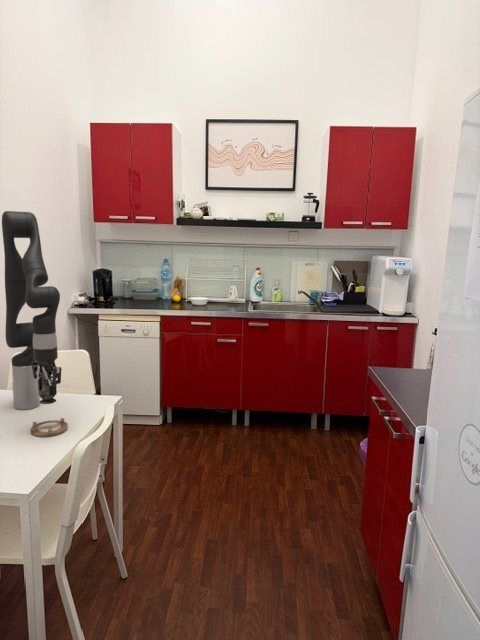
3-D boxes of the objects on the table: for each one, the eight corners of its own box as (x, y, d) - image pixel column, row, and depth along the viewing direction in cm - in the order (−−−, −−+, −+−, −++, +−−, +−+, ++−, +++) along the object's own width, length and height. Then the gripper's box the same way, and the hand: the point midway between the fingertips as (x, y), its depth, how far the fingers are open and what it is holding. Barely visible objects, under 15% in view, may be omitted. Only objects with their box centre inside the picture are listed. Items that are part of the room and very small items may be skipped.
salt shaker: (50, 405, 152) (48, 371, 150) (34, 403, 153) (33, 369, 151) (60, 399, 158) (59, 366, 156) (45, 397, 159) (43, 364, 157)
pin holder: (23, 431, 156) (23, 424, 156) (54, 420, 166) (54, 413, 165) (43, 440, 149) (43, 433, 149) (75, 428, 159) (74, 422, 159)
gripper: (22, 344, 153) (25, 391, 156) (47, 351, 145) (50, 401, 148) (43, 340, 159) (45, 386, 162) (68, 347, 151) (70, 394, 154)
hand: (47, 393), depth 155 cm, fingers closed on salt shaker, 6 cm apart
